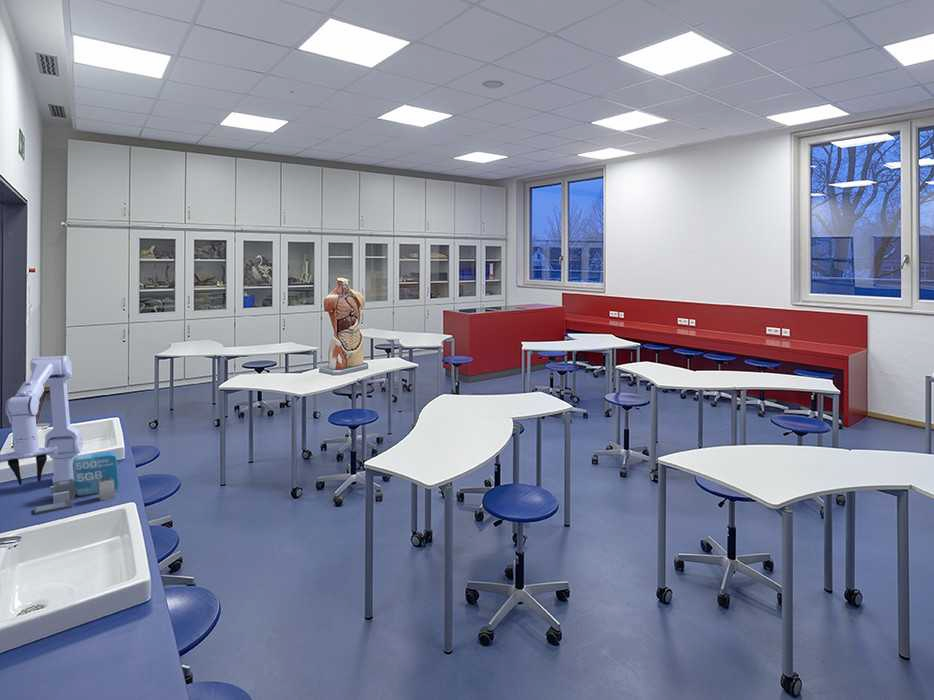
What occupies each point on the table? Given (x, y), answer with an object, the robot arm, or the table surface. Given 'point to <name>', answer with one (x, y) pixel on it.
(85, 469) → the data package
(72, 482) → the cube
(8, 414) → the robot arm
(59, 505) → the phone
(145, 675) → the table surface
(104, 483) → the metal plug
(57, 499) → the socket rails
